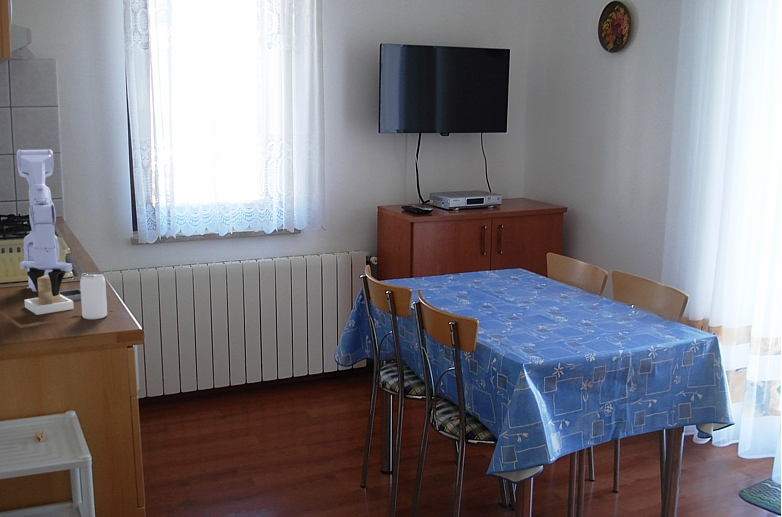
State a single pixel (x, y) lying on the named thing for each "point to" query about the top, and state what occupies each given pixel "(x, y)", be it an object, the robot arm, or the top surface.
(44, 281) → the peg
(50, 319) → the top surface
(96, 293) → the can
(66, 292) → the stud socket
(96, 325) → the top surface
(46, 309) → the bin tray
